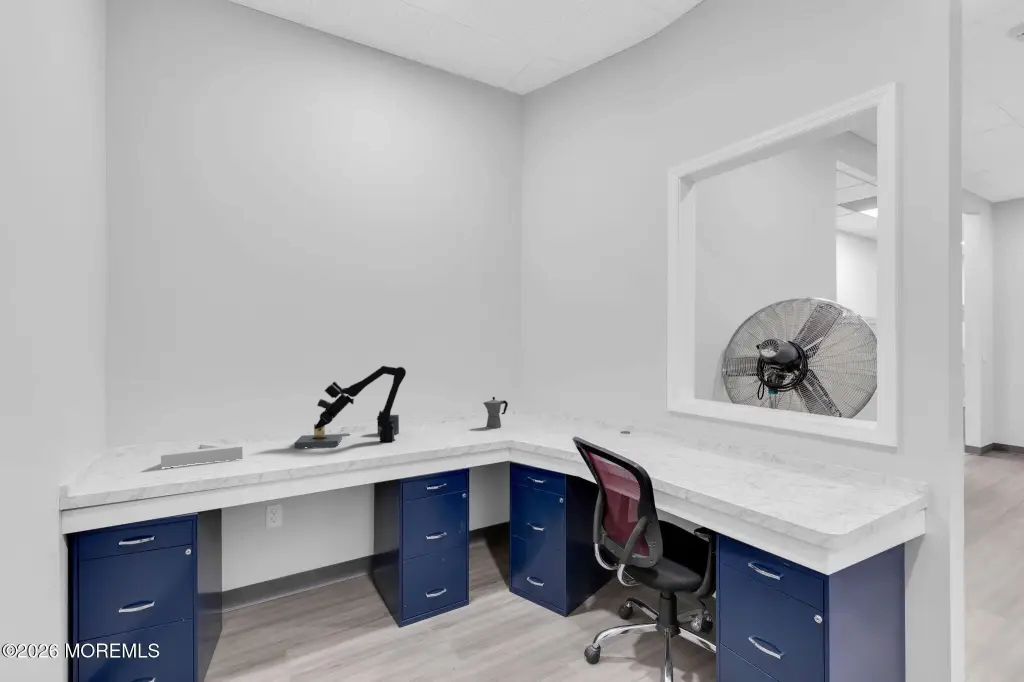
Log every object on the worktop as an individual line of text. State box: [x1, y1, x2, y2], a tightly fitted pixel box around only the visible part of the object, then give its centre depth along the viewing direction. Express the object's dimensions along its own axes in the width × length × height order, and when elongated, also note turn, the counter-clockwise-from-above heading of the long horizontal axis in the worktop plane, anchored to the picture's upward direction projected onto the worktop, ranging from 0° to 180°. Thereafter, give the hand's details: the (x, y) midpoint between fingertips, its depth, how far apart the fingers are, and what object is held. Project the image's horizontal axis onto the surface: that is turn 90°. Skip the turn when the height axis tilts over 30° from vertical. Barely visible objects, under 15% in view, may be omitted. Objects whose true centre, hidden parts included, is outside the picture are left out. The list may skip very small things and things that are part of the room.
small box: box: [376, 414, 400, 436], centre depth 294 cm, size 11×6×10 cm, turn 84°
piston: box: [313, 423, 326, 440], centre depth 267 cm, size 5×5×10 cm
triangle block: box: [160, 440, 244, 468], centre depth 233 cm, size 30×26×6 cm
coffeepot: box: [482, 396, 509, 429], centre depth 315 cm, size 15×9×18 cm, turn 109°
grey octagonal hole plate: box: [294, 433, 343, 449], centre depth 267 cm, size 20×18×3 cm
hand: (316, 427), depth 266 cm, fingers open, 9 cm apart
